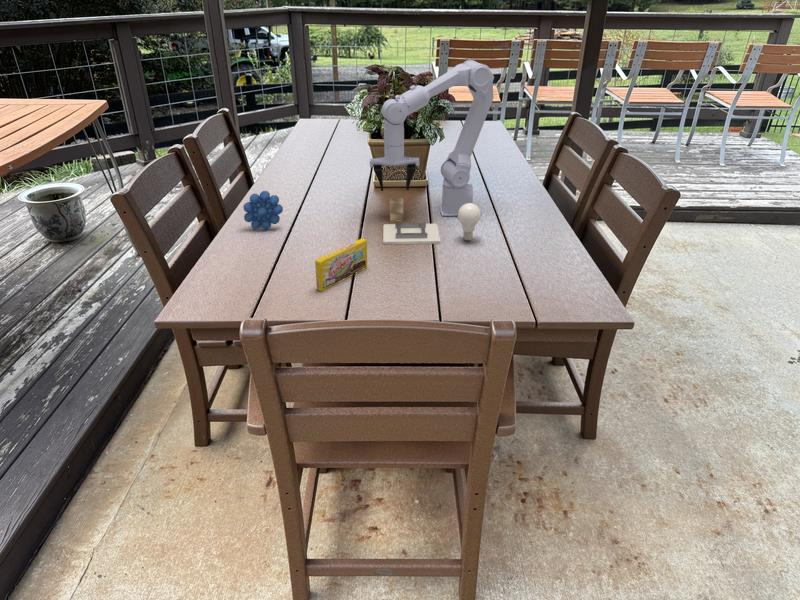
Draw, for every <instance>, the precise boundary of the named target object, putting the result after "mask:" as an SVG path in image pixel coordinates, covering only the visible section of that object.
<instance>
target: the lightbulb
mask: <svg viewBox="0 0 800 600" xmlns="http://www.w3.org/2000/svg"><path fill="white" fill-rule="evenodd" d="M457 217H458V220H459V222H460V224H461V226H462V230H463V236H462V239H463V240H465V241H467V242H469V241H471V240H473V235H474V231H475V227H476V225H477V224H478V223H479V221H480V220H481V217H482V212H481V208H480V207H479V206H478V205H477V204H475V203H473V202H472V203H466V204H464V205H462V206H461V207H460V209H459V211H458V216H457Z"/></svg>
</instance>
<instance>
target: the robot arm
mask: <svg viewBox="0 0 800 600" xmlns="http://www.w3.org/2000/svg"><path fill="white" fill-rule="evenodd" d="M494 80H495V76H494V73H493V72H492V70H491V68H490V67H489V66H488V65H486V64H484V63H479V62H477V61H476V60H474V59H467V60H465V61H464V62H463V63H459V64H456V65H455V66H454V67H452V68H451V69H450V70H449V71H447V72H445V73H444V74H442V75H441V76H438V77H437V78H436V79H435V80H433V81H431V82H429V83H428V84H426V85H425V86H423V85H419V84H417V85H414V84H413V85H411V86H410V87H409V90H407V91H405V92H403V93H401V94H397V95H395V96H394V97H395V99H394V98H393V99H392V98H390V99H387V100H386V101H384V103H383V104H382V106H381V109H380V114H381V116H382V117H383V144H384V145H383V146H384V147H383V149H384V155H383V156H384V157H376V158H369V168H373V172H374V174H375V176H376V178H377V180H378V182H379V188H380V191H381V192H383V191H384V183H383V167H397V166H398V167H399V166H400V167H401V166H404V167H405V166H406V179H405V180H406V181H405V188H406V191H409V190H410V185H411V181H412V179H413V176H414V174H415V173H416V170H417V168H416V167H419V166H420V157H414V156H413V157H411V156H405V127H404V126H405V125H404V124H405V123H404V122H405V120H406V119H407V116H410V115H411V114H413V113H415V112H417V111H419V110H421V109H422V108H424V107H426V106H427V105H428V104H429V101H430V99H431V98H432V97H434V96H436V95H439V94H441V93H442V92H444V91H446V90H447V91H448V89H452V87H455V86H461V87H467V88H468V89H469V91H470V94H471V95H472V98H473V99H472V102H471V104H470V106H469V110H468V112H467V115H466V117H465V120H464V122H463V125H462V127H461V130H460V133H459V136H458V139H457V141H456V144H455V146H454V150H452V151H451V152H450V153H449V154H448V156H447V158H446V159H445V161H443V162H442V164H441V166H440V174H441V175H442V177H443V181H442V194H441V195H442V197H441V204H440V205H439V210H440V214H441V217H458V211H459V209H460V207H461V206H462V205H464V204H466V203H473V200H474V198H473V196H474V188H473V184H472V183H471V184H470V183H469V181H470V179H471V175H470V173H471V172H470V171H471V168H472V160H471V157H472V154H473V151H474V149H475V146H476V143H477V141H478V139H479V136H480V134H481V132H482V129H483V126H484V124H485V122H486V118H487V115H488V113H489V111H490V108H491V106H492V103H493V101H494V84H493V83H494Z"/></svg>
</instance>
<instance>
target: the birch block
mask: <svg viewBox="0 0 800 600" xmlns="http://www.w3.org/2000/svg"><path fill="white" fill-rule="evenodd" d="M392 220H401V221H400V222H404V197H389V222H393V221H392Z"/></svg>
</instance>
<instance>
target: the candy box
mask: <svg viewBox="0 0 800 600" xmlns="http://www.w3.org/2000/svg"><path fill="white" fill-rule="evenodd" d="M314 264H315V265H314V267H315V279H316V280H315V282H316V285H315V286H316V290H317V291H319V292H323V291H326V290H328V289H329V288H331V287H333V286H335V285H337V284H338V283H337V282H339V281H341V280H343V279H345V278H347V277H348V278H350V277H351V276H350V275H352V276H354V275H355V274H354V273H356V272H358V271H360V270H362V269H363V268H365V269H367V268H368V240H367V239H365V238H362V237H361V238H360V239H357V240H355V241H354V242H351V243H349V244H347V245H343V246H342V247H340V248H338V249H336V250H333V251H331V252H329V253H327V254H325V255H323V256H320V257H318V258H317V259H315V260H314ZM366 267H367V268H366ZM362 271H363V270H362ZM360 272H361V271H360ZM358 273H359V272H358ZM353 274H354V275H353ZM356 274H357V273H356ZM349 276H350V277H349ZM348 278H347V279H348ZM345 280H346V279H345ZM343 281H344V280H343ZM341 282H342V281H341ZM336 283H337V284H336ZM339 283H340V282H339ZM334 284H335V285H334ZM332 285H333V286H332ZM330 286H331V287H330Z"/></svg>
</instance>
